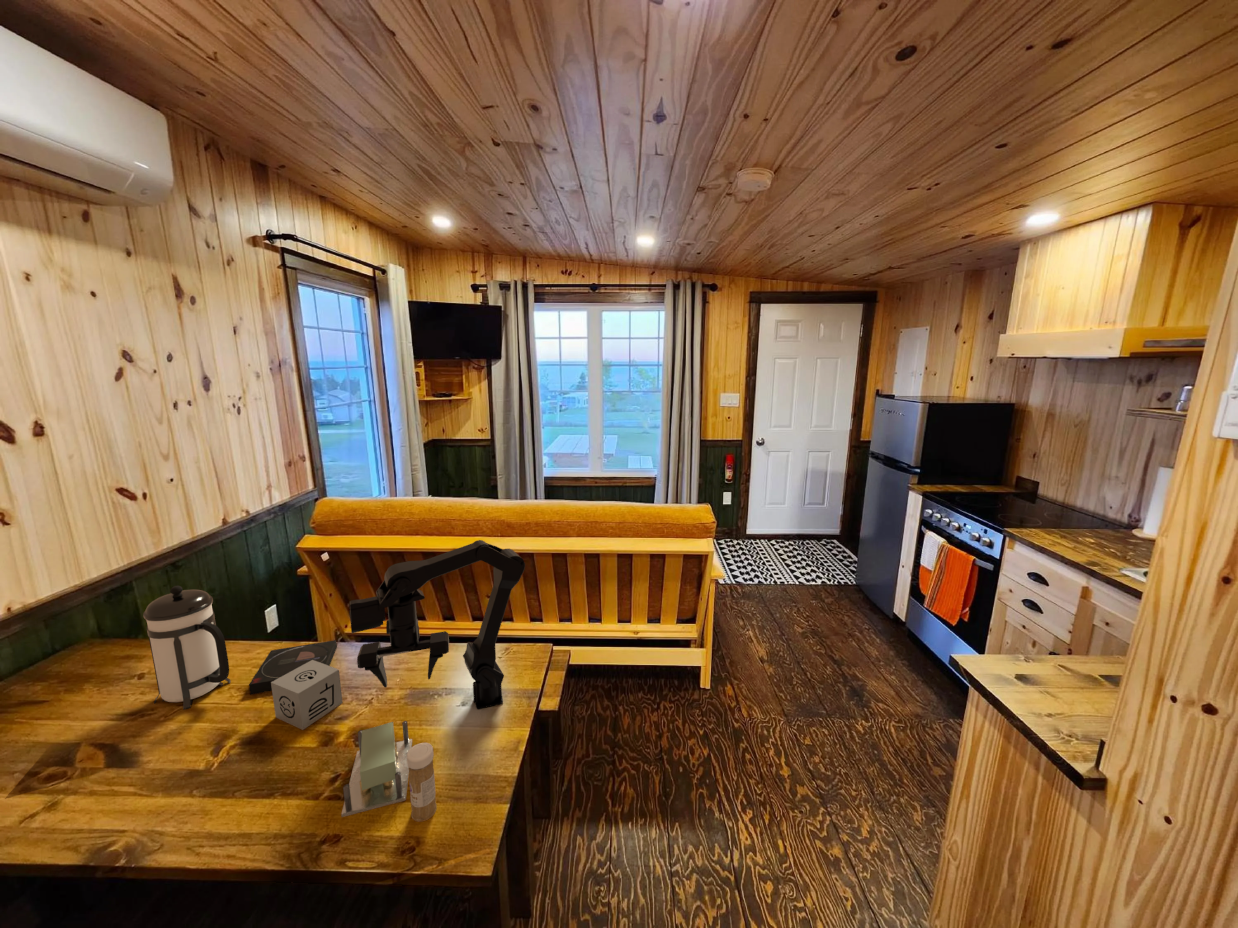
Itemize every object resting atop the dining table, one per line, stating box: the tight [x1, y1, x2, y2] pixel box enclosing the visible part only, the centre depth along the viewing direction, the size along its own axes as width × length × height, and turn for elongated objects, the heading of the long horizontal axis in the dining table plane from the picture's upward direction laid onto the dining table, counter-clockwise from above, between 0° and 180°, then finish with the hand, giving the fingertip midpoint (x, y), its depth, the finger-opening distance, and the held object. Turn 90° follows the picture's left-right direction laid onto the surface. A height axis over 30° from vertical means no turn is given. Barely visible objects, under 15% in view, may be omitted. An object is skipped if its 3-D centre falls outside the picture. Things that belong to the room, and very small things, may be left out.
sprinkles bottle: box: [407, 742, 438, 823], centre depth 88 cm, size 5×5×14 cm
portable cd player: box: [248, 639, 338, 695], centre depth 132 cm, size 16×17×4 cm
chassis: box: [341, 720, 413, 818], centre depth 97 cm, size 16×11×6 cm
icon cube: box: [271, 660, 343, 731], centre depth 115 cm, size 10×10×10 cm
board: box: [360, 721, 396, 790], centre depth 96 cm, size 12×6×4 cm, turn 27°
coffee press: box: [142, 585, 231, 711], centre depth 120 cm, size 17×16×30 cm
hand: (407, 682), depth 109 cm, fingers open, 9 cm apart
